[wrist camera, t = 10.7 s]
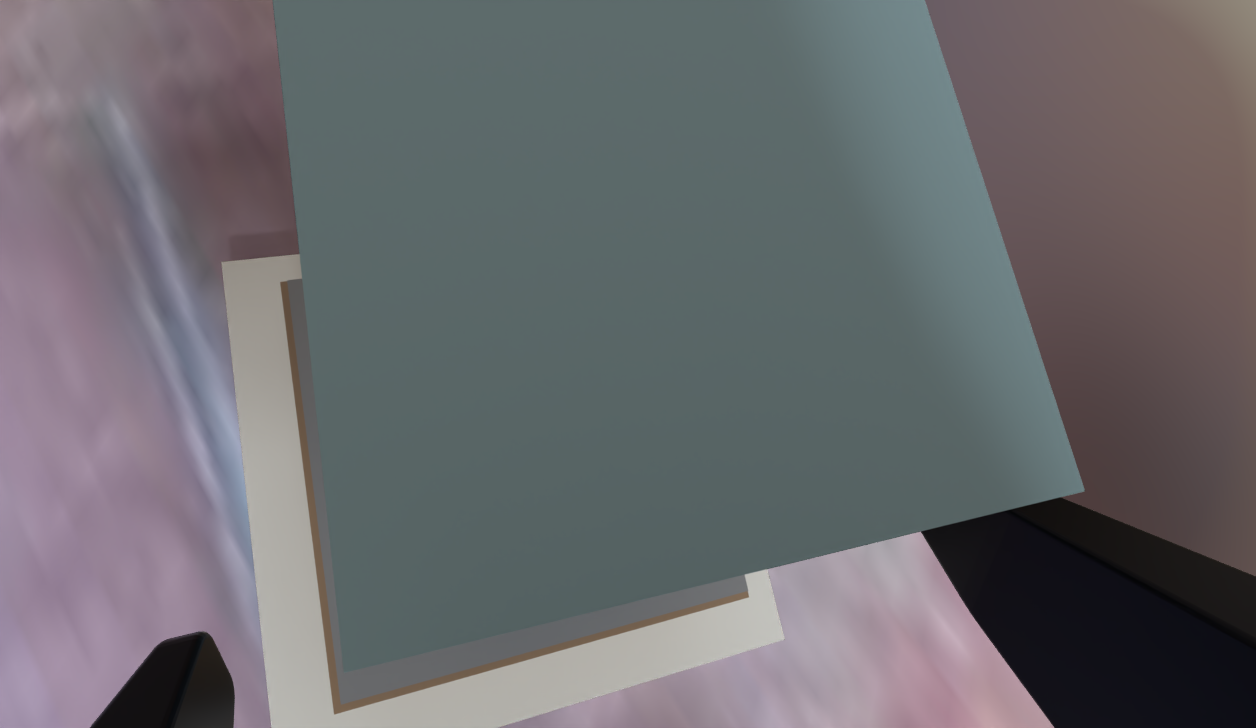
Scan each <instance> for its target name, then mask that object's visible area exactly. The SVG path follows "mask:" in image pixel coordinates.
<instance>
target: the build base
mask: <svg viewBox="0 0 1256 728" xmlns="http://www.w3.org/2000/svg"><path fill="white" fill-rule="evenodd" d="M221 264H222V273H223V282H224V291H225V301H226V310H227V319H228V329H229V338H230V347H231V356H232V366H233V375H234V384H235V394H236V403H237V412H238V421H239V431H240V440H241V449H242V458H243V468H244V477H245V486H246V496H247V505H248V514H249V523H250V533H251V542H252V551H253V561H254V570H255V579H256V588H257V598H258V607H259V616H260V626H261V635H262V644H263V653H264V663H265V672H266V681H267V690H268V700H269V709H270V718H271V728H498V727H501V726H505V725H508V724H511V723H514V722H518V721H521V720H524V719H527V718H531V717H534V716H537V715H541V714H544V713H547V712H550V711H554V710H557V709H560V708H563V707H567V706H570V705H573V704H576V703H580V702H583V701H586V700H589V699H593V698H596V697H599V696H602V695H606V694H609V693H612V692H615V691H619V690H622V689H625V688H628V687H632V686H635V685H638V684H641V683H645V682H648V681H651V680H654V679H658V678H661V677H664V676H668V675H671V674H674V673H677V672H681V671H684V670H687V669H690V668H694V667H697V666H700V665H703V664H707V663H710V662H713V661H716V660H720V659H723V658H726V657H729V656H733V655H736V654H739V653H742V652H746V651H749V650H752V649H755V648H759V647H762V646H765V645H768V644H772V643H775V642H778V641H781V640H785V639H784V635H783V631H782V627H781V623H780V619H779V615H778V611H777V607H776V603H775V599H774V595H773V591H772V587H771V583H770V579H769V575H768V571H767V569H766V570H762V571H757V572H753V573H749V574H745V575H741V576H737V577H733V578H729V579H725V580H721V581H717V582H713V583H709V584H704V585H700V586H696V587H692V588H688V589H684V590H680V591H676V592H672V593H668V594H664V595H660V596H656V597H651V598H647V599H643V600H639V601H635V602H631V603H627V604H623V605H619V606H615V607H611V608H607V609H603V610H598V611H594V612H590V613H586V614H582V615H578V616H574V617H570V618H566V619H562V620H558V621H554V622H550V623H545V624H541V625H537V626H533V627H529V628H525V629H521V630H517V631H513V632H509V633H505V634H501V635H497V636H492V637H488V638H484V639H480V640H476V641H472V642H468V643H464V644H460V645H456V646H452V647H448V648H444V649H439V650H435V651H431V652H427V653H423V654H419V655H415V656H411V657H407V658H403V659H399V660H395V661H391V662H386V663H382V664H378V665H374V666H370V667H366V668H362V669H358V670H354V671H350V672H346V673H344V670H343V661H342V651H341V642H340V632H339V623H338V614H337V604H336V595H335V585H334V576H333V566H332V557H331V547H330V538H329V528H328V519H327V510H326V500H325V491H324V481H323V472H322V462H321V453H320V443H319V434H318V424H317V415H316V406H315V396H314V387H313V377H312V368H311V358H310V349H309V339H308V330H307V320H306V311H305V302H304V292H303V283H302V273H301V264H300V254H295V255H285V256H275V257H266V258H256V259H246V260H236V261H227V262H221Z"/></svg>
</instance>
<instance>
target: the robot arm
mask: <svg viewBox="0 0 1256 728" xmlns="http://www.w3.org/2000/svg"><path fill="white" fill-rule="evenodd" d="M921 533H922V534H923V536H924V538H925V539H926V541H927V543H928V544H929V546H930V548H931V549H932V551H933V553H934V554H935V556H936V557H937V559H938V561H939V562H940V564H941V566H942V567H943V569H944V571H945V572H946V574H947V576H948V577H949V579H950V581H951V582H952V584H953V586H954V587H955V589H956V591H957V592H958V594H959V596H960V597H961V599H962V600H963V602H964V603H965V605H966V607H967V608H968V610H969V611H970V613H971V614H972V616H973V617H974V619H975V620H976V621H977V623H978V624H979V626H980V627H981V629H982V630H983V631H984V633H985V634H986V635H987V637H988V638H989V639H990V641H991V642H992V643H993V645H994V646H995V648H996V649H997V650H998V652H999V653H1000V654H1001V656H1002V657H1003V658H1004V660H1005V661H1006V663H1007V664H1008V665H1009V667H1010V668H1011V669H1012V671H1013V672H1014V673H1015V675H1016V676H1017V677H1018V679H1019V680H1020V682H1021V683H1022V684H1023V686H1024V687H1025V688H1026V690H1027V691H1028V692H1029V694H1030V695H1031V696H1032V698H1033V699H1034V701H1035V702H1036V703H1037V705H1038V706H1039V707H1040V709H1041V710H1042V711H1043V713H1044V714H1045V716H1046V717H1047V718H1048V720H1049V721H1050V722H1051V724H1052V725H1053V726H1054V728H1256V576H1253V575H1251V574H1248V573H1246V572H1243V571H1241V570H1238V569H1236V568H1234V567H1231V566H1229V565H1226V564H1224V563H1221V562H1219V561H1216V560H1214V559H1211V558H1209V557H1206V556H1204V555H1202V554H1199V553H1197V552H1194V551H1191V550H1189V549H1187V548H1184V547H1182V546H1179V545H1177V544H1174V543H1172V542H1170V541H1167V540H1165V539H1162V538H1160V537H1157V536H1155V535H1152V534H1150V533H1147V532H1145V531H1142V530H1140V529H1137V528H1135V527H1133V526H1130V525H1128V524H1125V523H1123V522H1120V521H1118V520H1115V519H1113V518H1110V517H1108V516H1105V515H1103V514H1101V513H1098V512H1096V511H1093V510H1091V509H1088V508H1086V507H1083V506H1081V505H1078V504H1076V503H1073V502H1071V501H1068V500H1066V499H1063V498H1061V497H1059V498H1055V499H1051V500H1047V501H1043V502H1039V503H1035V504H1031V505H1026V506H1022V507H1018V508H1014V509H1010V510H1006V511H1002V512H998V513H994V514H990V515H986V516H982V517H978V518H973V519H969V520H965V521H961V522H957V523H953V524H949V525H945V526H941V527H937V528H933V529H929V530H925V531H921ZM234 703H235V695H234V686H233V681H232V678H231V675H230V673H229V671H228V669H227V667H226V665H225V663H224V661H223V659H222V656H221V654H220V652H219V650H218V648H217V646H216V644H215V642H214V640H213V638H212V637H211V636H210V635H209V634H208V633H207V632H195V633H191V634H187V635H183V636H178V637H174V638H170V639H167V640H164V641H163V642H161V643H160V644H159V645H157V646H156V647H155V648H154V649H153V651H152V652H151V653H150V654H149V655H148V657H147V658H146V659H145V660H144V662H143V663H142V664H141V665H140V667H139V668H138V669H137V670H136V671H135V673H134V674H133V675H132V676H131V678H130V679H129V680H128V681H127V683H126V684H125V685H124V686H123V687H122V689H121V690H120V691H119V692H118V694H117V695H116V696H115V697H114V699H113V700H112V701H111V702H110V703H109V705H108V706H107V707H106V708H105V710H104V711H103V712H102V713H101V715H100V716H99V717H98V718H97V720H96V721H95V722H94V723H93V724H92V726H91V727H90V728H233V726H234Z"/></svg>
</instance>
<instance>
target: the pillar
mask: <svg viewBox="0 0 1256 728" xmlns="http://www.w3.org/2000/svg"><path fill="white" fill-rule="evenodd" d="M273 8H274V18H275V27H276V37H277V46H278V56H279V65H280V75H281V84H282V94H283V103H284V112H285V122H286V131H287V141H288V150H289V160H290V169H291V179H292V188H293V198H294V207H295V216H296V226H297V235H298V245H299V254H300V264H301V273H302V283H303V292H304V302H305V311H306V320H307V330H308V339H309V349H310V358H311V368H312V377H313V387H314V396H315V406H316V415H317V424H318V434H319V443H320V453H321V462H322V472H323V481H324V491H325V500H326V510H327V519H328V528H329V538H330V547H331V557H332V566H333V576H334V585H335V595H336V604H337V614H338V623H339V632H340V642H341V651H342V661H343V670H344V673H346V672H350V671H354V670H358V669H362V668H366V667H370V666H374V665H378V664H382V663H386V662H391V661H395V660H399V659H403V658H407V657H411V656H415V655H419V654H423V653H427V652H431V651H435V650H439V649H444V648H448V647H452V646H456V645H460V644H464V643H468V642H472V641H476V640H480V639H484V638H488V637H492V636H497V635H501V634H505V633H509V632H513V631H517V630H521V629H525V628H529V627H533V626H537V625H541V624H545V623H550V622H554V621H558V620H562V619H566V618H570V617H574V616H578V615H582V614H586V613H590V612H594V611H598V610H603V609H607V608H611V607H615V606H619V605H623V604H627V603H631V602H635V601H639V600H643V599H647V598H651V597H656V596H660V595H664V594H668V593H672V592H676V591H680V590H684V589H688V588H692V587H696V586H700V585H704V584H709V583H713V582H717V581H721V580H725V579H729V578H733V577H737V576H741V575H745V574H749V573H753V572H757V571H762V570H766V569H770V568H774V567H778V566H782V565H786V564H790V563H794V562H798V561H802V560H806V559H810V558H815V557H819V556H823V555H827V554H831V553H835V552H839V551H843V550H847V549H851V548H855V547H859V546H863V545H868V544H872V543H876V542H880V541H884V540H888V539H892V538H896V537H900V536H904V535H908V534H912V533H916V532H920V531H925V530H929V529H933V528H937V527H941V526H945V525H949V524H953V523H957V522H961V521H965V520H969V519H973V518H978V517H982V516H986V515H990V514H994V513H998V512H1002V511H1006V510H1010V509H1014V508H1018V507H1022V506H1026V505H1031V504H1035V503H1039V502H1043V501H1047V500H1051V499H1055V498H1059V497H1063V496H1067V495H1071V494H1075V493H1079V492H1083V491H1085V490H1084V487H1083V484H1082V481H1081V478H1080V475H1079V472H1078V469H1077V465H1076V462H1075V460H1074V456H1073V453H1072V450H1071V447H1070V444H1069V442H1068V438H1067V435H1066V432H1065V429H1064V426H1063V423H1062V419H1061V416H1060V413H1059V411H1058V407H1057V404H1056V401H1055V398H1054V395H1053V392H1052V389H1051V386H1050V383H1049V380H1048V377H1047V374H1046V371H1045V367H1044V365H1043V361H1042V358H1041V355H1040V352H1039V349H1038V346H1037V343H1036V340H1035V337H1034V334H1033V331H1032V328H1031V325H1030V322H1029V319H1028V315H1027V312H1026V309H1025V306H1024V303H1023V300H1022V297H1021V294H1020V291H1019V288H1018V285H1017V282H1016V279H1015V276H1014V272H1013V269H1012V267H1011V263H1010V260H1009V257H1008V254H1007V251H1006V248H1005V245H1004V242H1003V239H1002V236H1001V233H1000V230H999V227H998V223H997V220H996V217H995V214H994V211H993V208H992V205H991V202H990V199H989V196H988V193H987V190H986V187H985V184H984V180H983V178H982V174H981V171H980V168H979V166H978V162H977V159H976V156H975V153H974V150H973V147H972V144H971V141H970V138H969V135H968V131H967V128H966V125H965V123H964V119H963V116H962V113H961V110H960V107H959V104H958V101H957V98H956V95H955V92H954V89H953V86H952V83H951V79H950V76H949V73H948V70H947V67H946V64H945V61H944V58H943V55H942V52H941V49H940V46H939V43H938V40H937V37H936V33H935V30H934V27H933V24H932V21H931V18H930V15H929V12H928V9H927V6H926V3H925V0H273Z"/></svg>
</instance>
